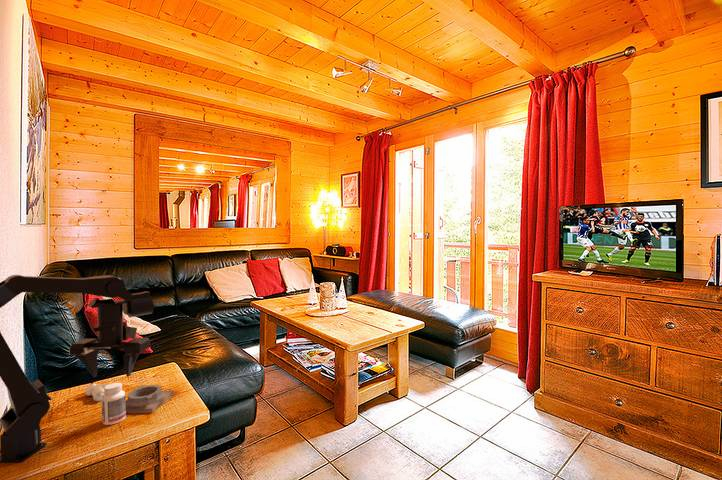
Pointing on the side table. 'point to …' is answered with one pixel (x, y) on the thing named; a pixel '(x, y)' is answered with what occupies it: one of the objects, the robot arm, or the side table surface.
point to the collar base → (149, 407)
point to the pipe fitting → (96, 391)
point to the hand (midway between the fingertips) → (111, 376)
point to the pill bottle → (113, 404)
